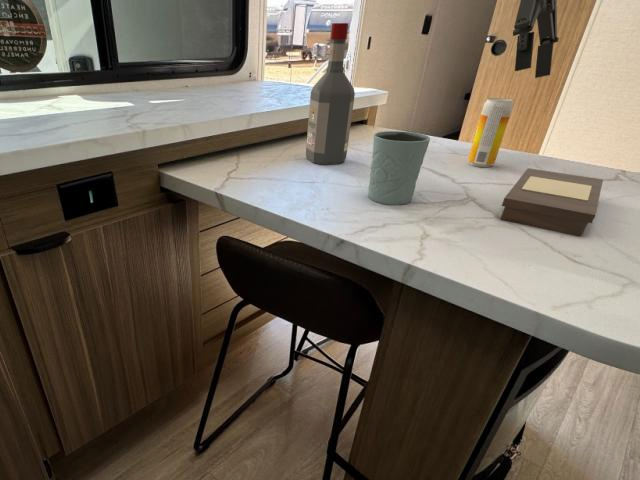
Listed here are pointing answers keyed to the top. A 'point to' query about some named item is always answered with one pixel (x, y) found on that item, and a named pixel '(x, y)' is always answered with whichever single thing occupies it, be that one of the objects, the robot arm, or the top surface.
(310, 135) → the liquor
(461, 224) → the top surface
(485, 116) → the beer can
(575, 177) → the brown lidded keepsake box
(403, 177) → the green embossed cup
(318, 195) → the top surface
